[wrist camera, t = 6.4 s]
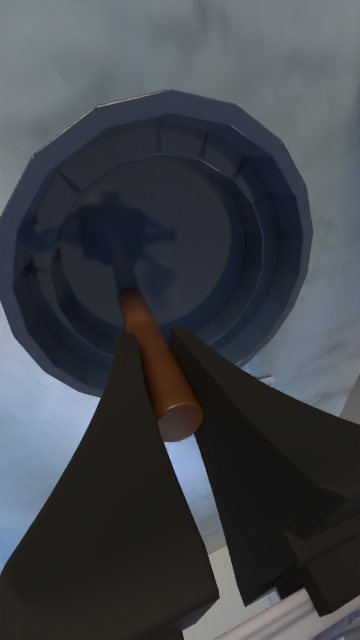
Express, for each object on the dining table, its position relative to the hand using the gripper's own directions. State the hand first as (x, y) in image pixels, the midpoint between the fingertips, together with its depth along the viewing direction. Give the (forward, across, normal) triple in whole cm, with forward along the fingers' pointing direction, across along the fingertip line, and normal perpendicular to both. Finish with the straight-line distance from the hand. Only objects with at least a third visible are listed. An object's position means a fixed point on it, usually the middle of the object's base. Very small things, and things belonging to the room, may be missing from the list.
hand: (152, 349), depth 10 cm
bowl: (+7, -2, -1) cm, 7 cm away
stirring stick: (+6, 0, +1) cm, 6 cm away
